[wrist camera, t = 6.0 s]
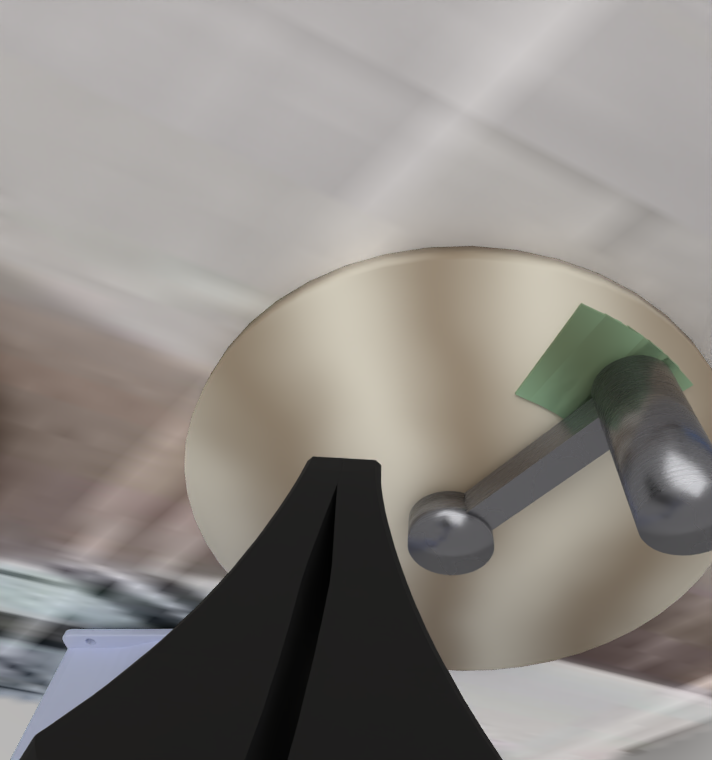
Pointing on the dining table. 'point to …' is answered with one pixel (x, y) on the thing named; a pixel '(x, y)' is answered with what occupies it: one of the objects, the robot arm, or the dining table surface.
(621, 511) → the dial board
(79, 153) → the dining table surface
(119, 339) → the dining table surface
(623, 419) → the lever
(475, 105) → the dining table surface
